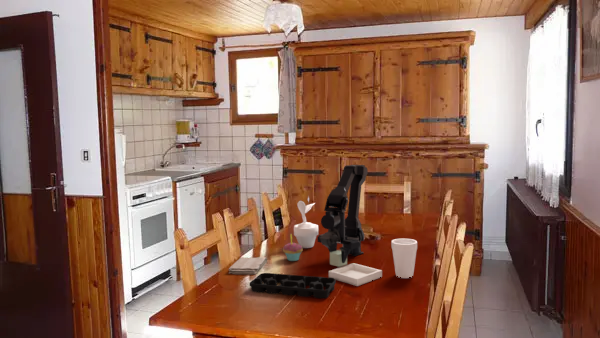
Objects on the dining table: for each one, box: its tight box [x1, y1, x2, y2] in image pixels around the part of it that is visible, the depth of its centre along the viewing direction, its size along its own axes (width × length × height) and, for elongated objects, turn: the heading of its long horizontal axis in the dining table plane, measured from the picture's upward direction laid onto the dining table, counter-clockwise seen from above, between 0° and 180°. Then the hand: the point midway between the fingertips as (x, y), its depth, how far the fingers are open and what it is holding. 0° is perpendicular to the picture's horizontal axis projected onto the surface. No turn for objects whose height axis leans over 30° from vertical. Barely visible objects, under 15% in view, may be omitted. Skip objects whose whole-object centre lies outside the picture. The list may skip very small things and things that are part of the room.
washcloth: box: [228, 256, 268, 276], centre depth 202 cm, size 12×18×3 cm, turn 171°
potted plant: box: [293, 195, 319, 249], centre depth 232 cm, size 13×12×25 cm
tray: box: [328, 262, 383, 287], centre depth 186 cm, size 14×14×2 cm
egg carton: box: [249, 272, 337, 299], centre depth 175 cm, size 18×30×4 cm, turn 83°
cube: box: [329, 249, 348, 268], centre depth 203 cm, size 5×5×5 cm
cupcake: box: [282, 233, 304, 262], centre depth 212 cm, size 9×8×12 cm
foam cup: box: [390, 237, 418, 279], centre depth 186 cm, size 10×9×13 cm
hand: (338, 261), depth 204 cm, fingers closed on cube, 5 cm apart
